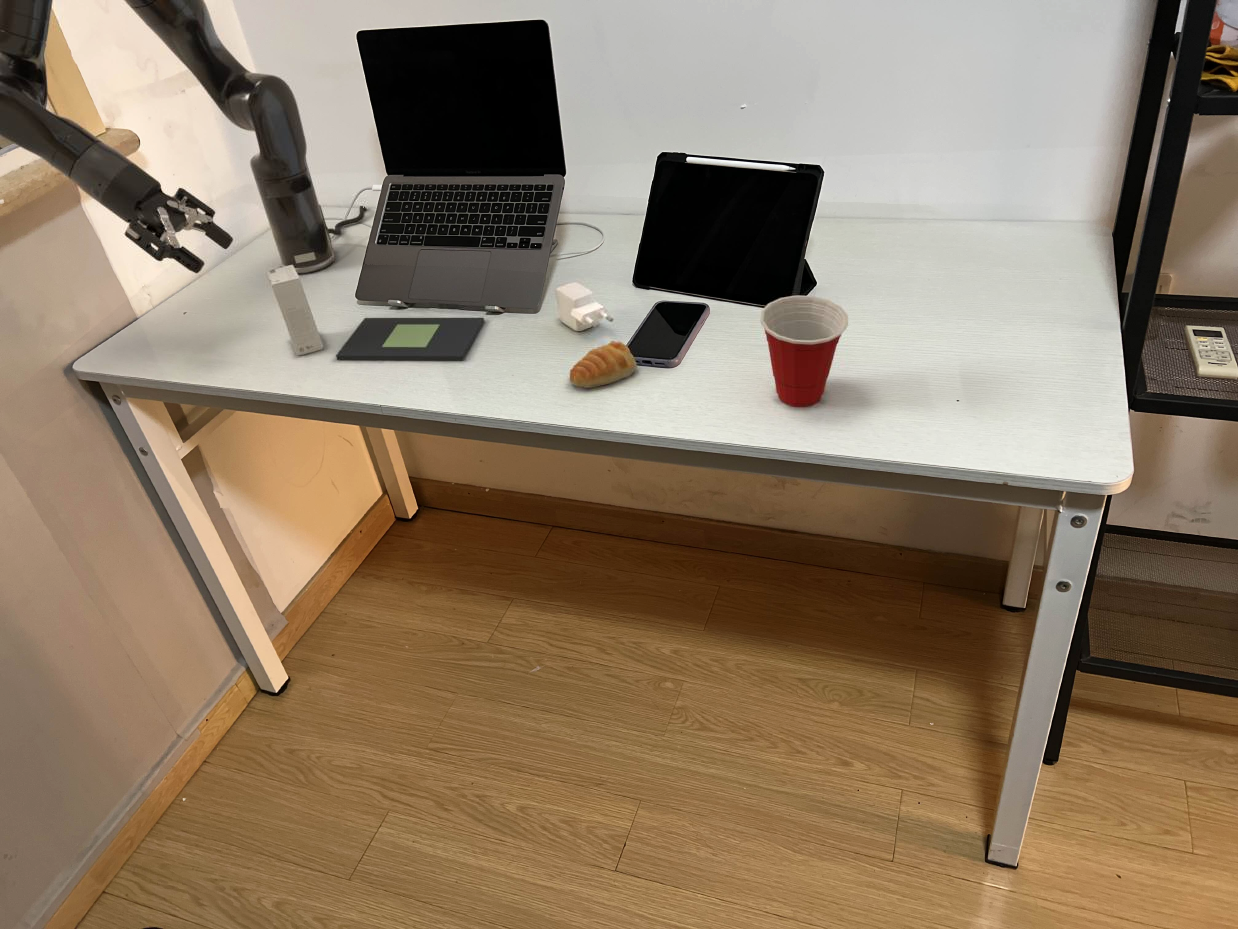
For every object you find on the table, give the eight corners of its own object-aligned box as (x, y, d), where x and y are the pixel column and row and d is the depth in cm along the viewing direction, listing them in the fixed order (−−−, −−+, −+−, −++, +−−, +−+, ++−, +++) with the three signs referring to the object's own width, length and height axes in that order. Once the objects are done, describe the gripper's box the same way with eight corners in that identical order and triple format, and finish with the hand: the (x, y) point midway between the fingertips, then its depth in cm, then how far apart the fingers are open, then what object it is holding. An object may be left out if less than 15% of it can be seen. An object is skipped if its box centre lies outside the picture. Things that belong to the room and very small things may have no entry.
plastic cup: (787, 428, 115) (790, 345, 108) (743, 388, 123) (743, 308, 116) (859, 404, 118) (867, 321, 111) (812, 366, 126) (817, 287, 119)
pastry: (588, 398, 125) (585, 373, 123) (559, 380, 129) (556, 356, 127) (641, 371, 129) (639, 347, 127) (611, 355, 134) (609, 332, 131)
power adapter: (620, 337, 137) (617, 302, 134) (593, 348, 136) (589, 313, 132) (581, 311, 145) (577, 277, 142) (555, 321, 143) (550, 287, 140)
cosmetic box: (325, 349, 142) (302, 277, 135) (296, 357, 141) (271, 285, 134) (317, 333, 147) (295, 262, 140) (289, 340, 146) (265, 270, 138)
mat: (366, 321, 149) (364, 316, 148) (484, 321, 145) (483, 316, 145) (337, 360, 139) (335, 354, 139) (463, 360, 136) (461, 355, 135)
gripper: (94, 181, 124) (201, 259, 129) (153, 147, 135) (249, 220, 140) (77, 219, 128) (181, 294, 133) (135, 183, 139) (229, 253, 144)
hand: (216, 256), depth 137 cm, fingers open, 8 cm apart
